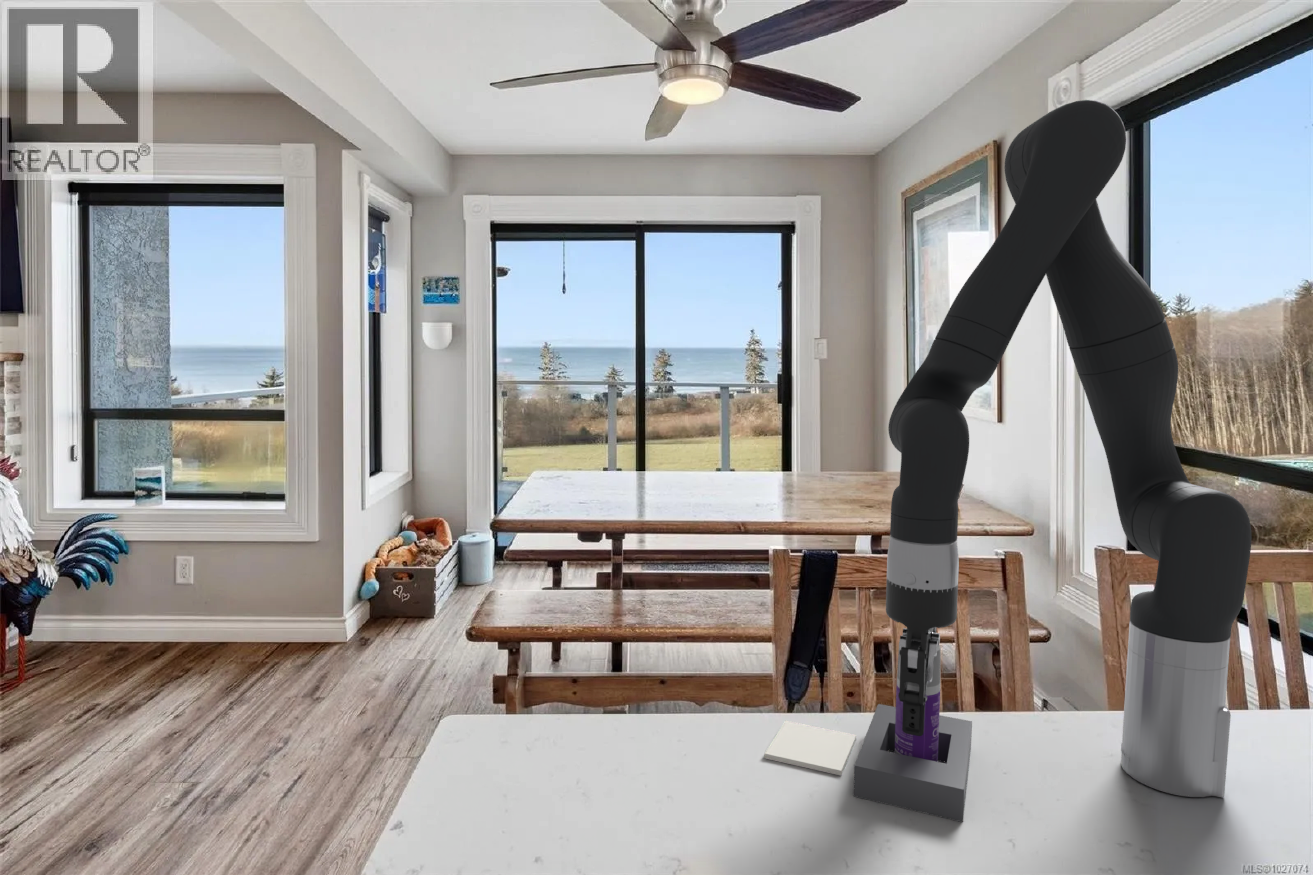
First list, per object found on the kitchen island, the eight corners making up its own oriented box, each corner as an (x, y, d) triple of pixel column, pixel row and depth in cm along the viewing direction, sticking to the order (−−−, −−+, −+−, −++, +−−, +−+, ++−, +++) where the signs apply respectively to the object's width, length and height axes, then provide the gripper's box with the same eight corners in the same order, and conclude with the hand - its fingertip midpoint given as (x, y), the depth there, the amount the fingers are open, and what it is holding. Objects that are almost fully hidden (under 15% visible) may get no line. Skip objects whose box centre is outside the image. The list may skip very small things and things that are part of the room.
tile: (856, 739, 94) (856, 735, 94) (841, 775, 86) (841, 770, 86) (785, 725, 98) (785, 720, 98) (764, 758, 90) (764, 753, 90)
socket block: (970, 748, 92) (972, 721, 91) (962, 822, 77) (964, 789, 77) (877, 730, 96) (878, 703, 96) (853, 796, 82) (854, 765, 82)
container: (940, 784, 84) (945, 654, 83) (896, 780, 85) (900, 651, 83) (933, 762, 89) (938, 638, 87) (892, 758, 90) (895, 636, 88)
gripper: (953, 600, 76) (947, 755, 78) (962, 564, 89) (956, 698, 91) (876, 590, 80) (872, 740, 81) (895, 557, 93) (892, 687, 94)
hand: (917, 718), depth 86 cm, fingers open, 7 cm apart
